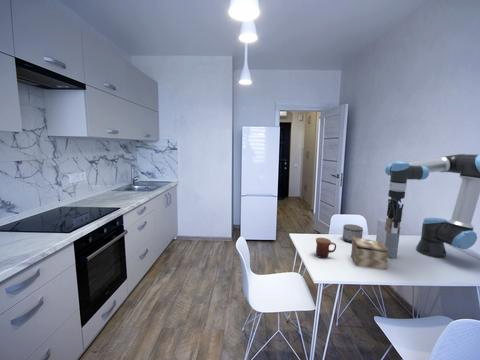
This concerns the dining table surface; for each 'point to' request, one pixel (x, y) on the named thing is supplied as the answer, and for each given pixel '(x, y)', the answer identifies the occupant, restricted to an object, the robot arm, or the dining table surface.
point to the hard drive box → (387, 238)
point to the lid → (370, 244)
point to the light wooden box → (369, 257)
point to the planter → (352, 232)
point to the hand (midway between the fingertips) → (391, 231)
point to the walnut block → (390, 225)
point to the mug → (323, 247)
